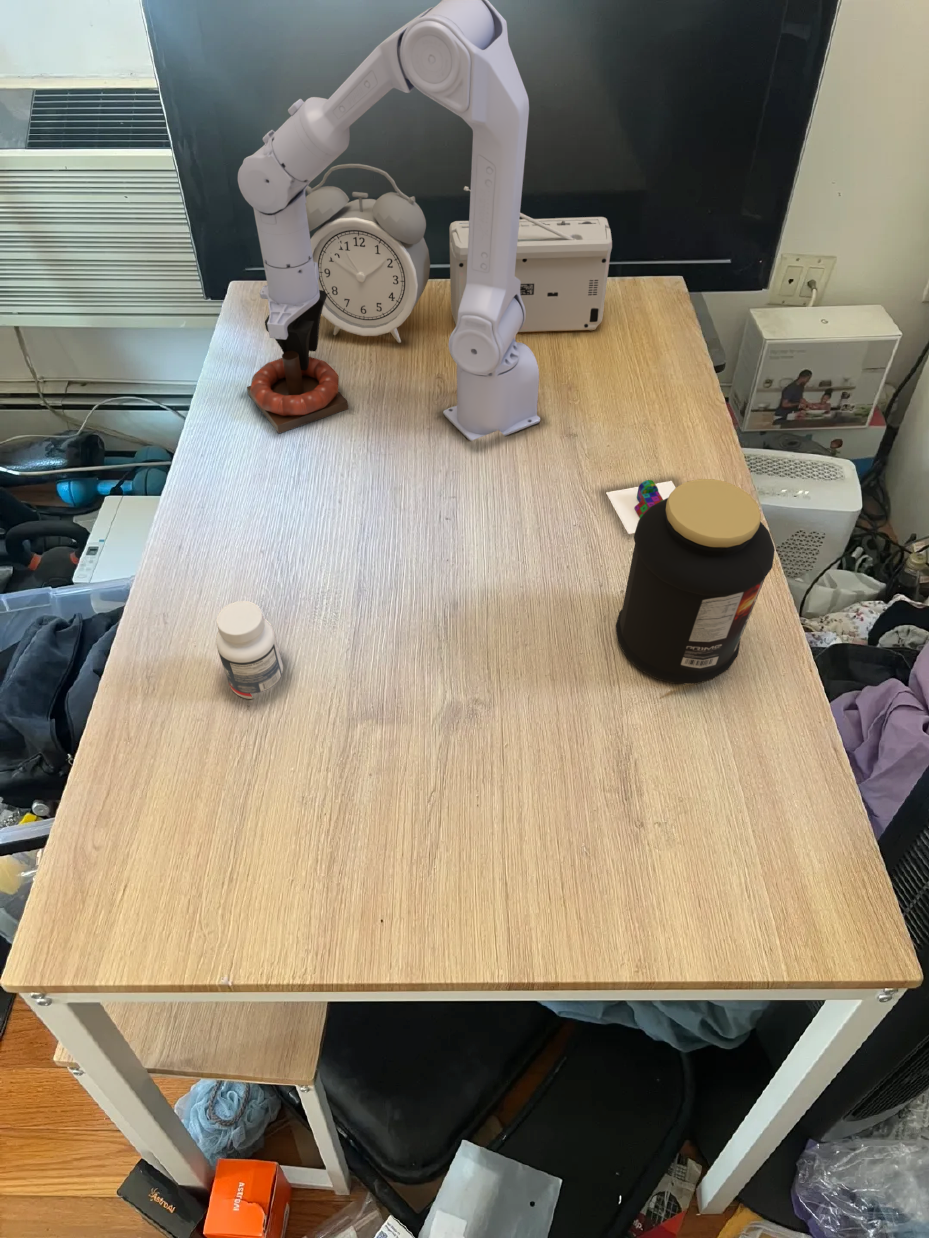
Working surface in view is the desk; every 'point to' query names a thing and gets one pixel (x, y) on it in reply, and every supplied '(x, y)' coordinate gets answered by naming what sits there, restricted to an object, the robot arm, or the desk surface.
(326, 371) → the loop ring
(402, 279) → the alarm clock
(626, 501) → the white flat piece
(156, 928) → the desk surface
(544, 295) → the radio
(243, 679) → the pill bottle
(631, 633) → the container
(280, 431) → the ring toss peg
